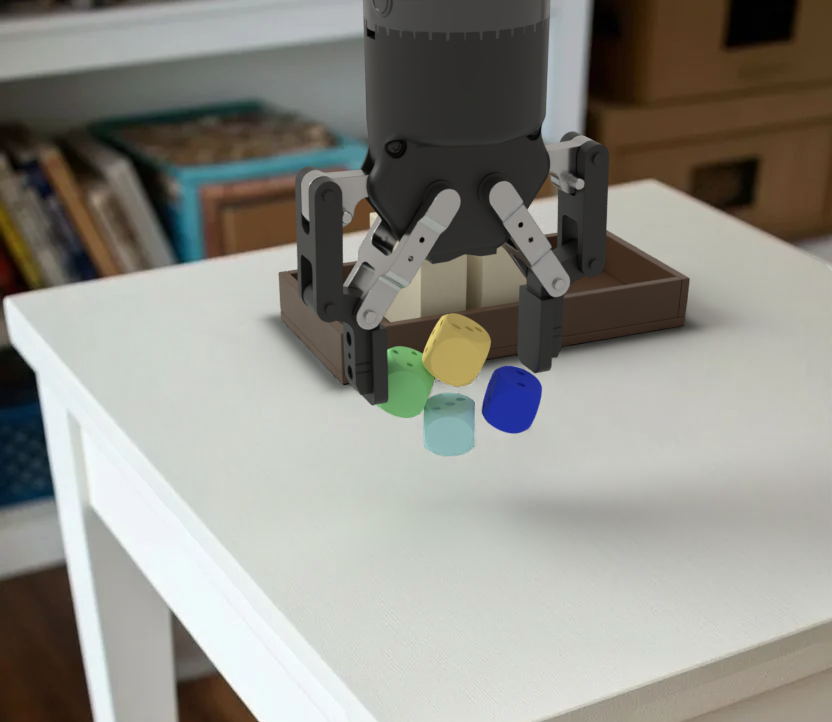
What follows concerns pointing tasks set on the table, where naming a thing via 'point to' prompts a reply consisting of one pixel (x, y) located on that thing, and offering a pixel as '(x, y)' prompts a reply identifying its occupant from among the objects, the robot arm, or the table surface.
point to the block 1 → (430, 289)
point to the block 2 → (492, 280)
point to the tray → (582, 311)
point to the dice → (458, 366)
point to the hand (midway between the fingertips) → (454, 382)
